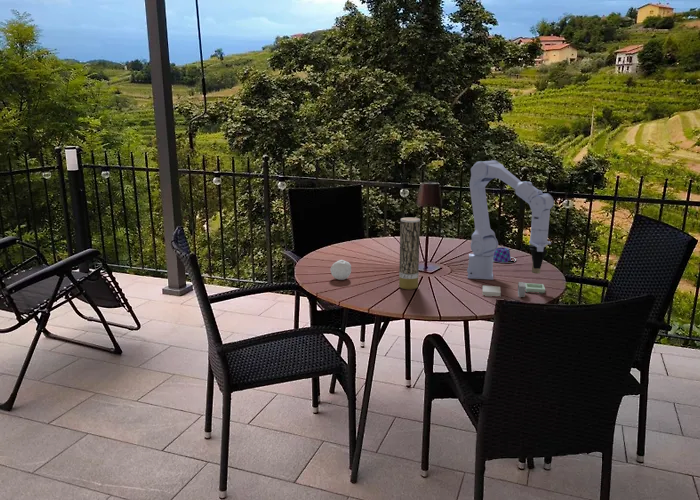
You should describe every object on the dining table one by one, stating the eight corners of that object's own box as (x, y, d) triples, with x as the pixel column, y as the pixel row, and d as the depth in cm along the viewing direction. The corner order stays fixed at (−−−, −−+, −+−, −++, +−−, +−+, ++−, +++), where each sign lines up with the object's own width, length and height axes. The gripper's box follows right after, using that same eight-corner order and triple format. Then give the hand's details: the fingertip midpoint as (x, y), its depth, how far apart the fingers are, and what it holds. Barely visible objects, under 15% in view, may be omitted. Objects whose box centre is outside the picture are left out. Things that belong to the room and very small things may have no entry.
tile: (482, 296, 190) (482, 291, 190) (482, 290, 197) (482, 285, 196) (500, 298, 189) (500, 292, 188) (499, 292, 195) (500, 286, 195)
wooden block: (518, 297, 188) (519, 286, 187) (517, 292, 193) (518, 281, 192) (524, 297, 188) (525, 286, 187) (523, 293, 192) (524, 282, 192)
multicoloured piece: (520, 263, 232) (521, 251, 231) (493, 264, 230) (494, 252, 229) (509, 256, 243) (510, 245, 242) (483, 257, 242) (483, 245, 241)
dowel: (532, 273, 193) (533, 253, 192) (531, 271, 196) (533, 252, 194) (540, 273, 193) (542, 254, 191) (539, 271, 195) (541, 252, 194)
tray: (525, 292, 194) (526, 288, 193) (524, 286, 200) (524, 282, 199) (544, 293, 192) (545, 289, 192) (543, 288, 198) (543, 284, 198)
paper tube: (405, 283, 204) (407, 216, 198) (421, 287, 199) (423, 218, 193) (395, 287, 199) (396, 219, 193) (411, 291, 194) (413, 221, 188)
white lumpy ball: (347, 275, 213) (347, 256, 212) (354, 281, 206) (354, 261, 205) (328, 277, 211) (327, 258, 209) (334, 283, 204) (334, 263, 202)
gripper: (554, 233, 183) (550, 273, 186) (549, 225, 197) (546, 262, 200) (532, 232, 184) (529, 271, 188) (528, 224, 198) (525, 261, 201)
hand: (536, 267), depth 194 cm, fingers closed on dowel, 3 cm apart
